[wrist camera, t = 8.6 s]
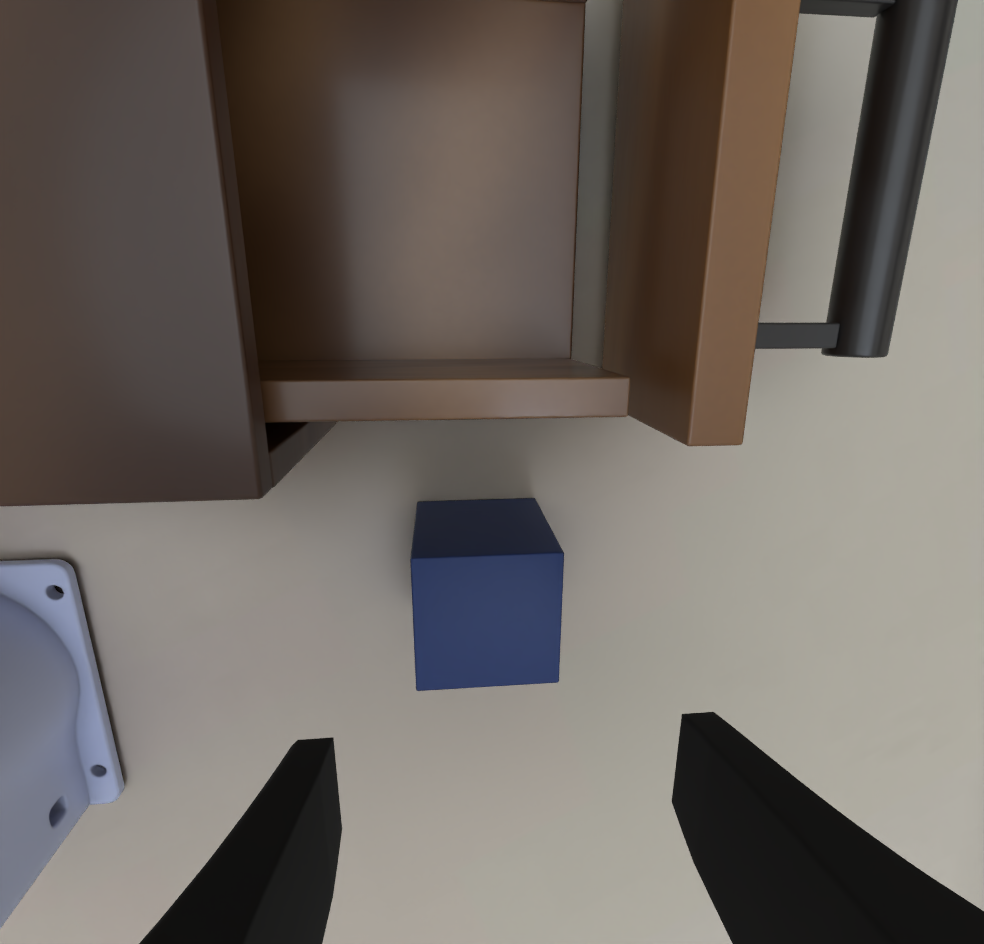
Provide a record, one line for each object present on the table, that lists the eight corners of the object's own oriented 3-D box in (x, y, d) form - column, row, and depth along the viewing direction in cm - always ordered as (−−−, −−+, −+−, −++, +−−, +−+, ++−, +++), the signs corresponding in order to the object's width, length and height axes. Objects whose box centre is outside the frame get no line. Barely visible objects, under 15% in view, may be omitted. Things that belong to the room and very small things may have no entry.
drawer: (848, -23, 14) (1136, -264, 8) (784, 398, 17) (964, 441, 11) (117, -68, 13) (-164, -406, 7) (191, 406, 16) (41, 461, 10)
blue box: (532, 602, 20) (559, 683, 15) (421, 607, 19) (416, 692, 15) (535, 497, 18) (564, 552, 14) (417, 501, 18) (410, 558, 14)
